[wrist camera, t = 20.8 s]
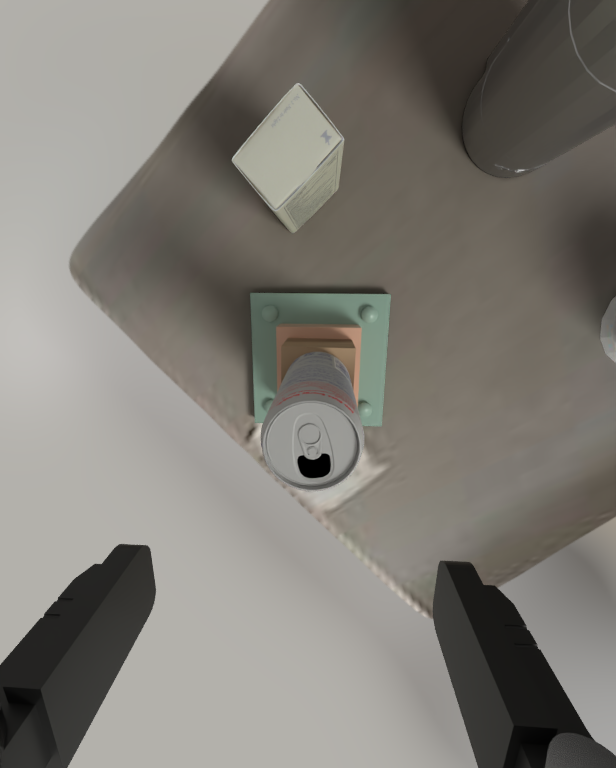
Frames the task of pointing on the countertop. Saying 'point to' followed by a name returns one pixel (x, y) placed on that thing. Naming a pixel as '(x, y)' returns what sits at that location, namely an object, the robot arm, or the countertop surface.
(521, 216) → the countertop surface
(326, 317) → the plate
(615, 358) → the french press
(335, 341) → the walnut block
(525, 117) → the robot arm
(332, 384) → the energy drink
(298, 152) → the skincare box
